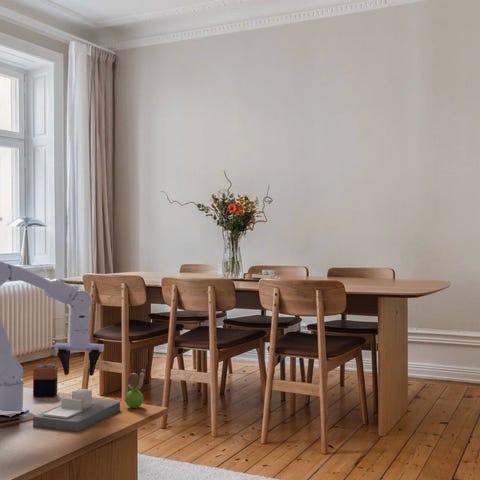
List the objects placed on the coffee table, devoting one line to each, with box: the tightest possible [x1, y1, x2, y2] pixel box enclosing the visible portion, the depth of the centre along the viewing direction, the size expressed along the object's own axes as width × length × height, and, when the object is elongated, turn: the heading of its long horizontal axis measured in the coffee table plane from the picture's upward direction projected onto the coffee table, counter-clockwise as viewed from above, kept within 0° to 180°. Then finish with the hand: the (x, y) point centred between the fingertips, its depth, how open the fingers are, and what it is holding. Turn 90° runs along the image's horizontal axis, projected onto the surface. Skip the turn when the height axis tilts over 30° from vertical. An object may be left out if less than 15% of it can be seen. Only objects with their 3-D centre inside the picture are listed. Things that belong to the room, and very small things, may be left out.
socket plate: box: [32, 398, 121, 432], centre depth 179 cm, size 14×22×2 cm, turn 161°
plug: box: [71, 388, 93, 409], centre depth 182 cm, size 4×4×7 cm
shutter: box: [43, 397, 83, 419], centre depth 174 cm, size 8×9×3 cm
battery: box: [32, 363, 59, 398], centre depth 204 cm, size 4×7×10 cm, turn 93°
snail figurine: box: [124, 368, 146, 409], centre depth 190 cm, size 5×6×12 cm
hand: (79, 374), depth 191 cm, fingers open, 7 cm apart
